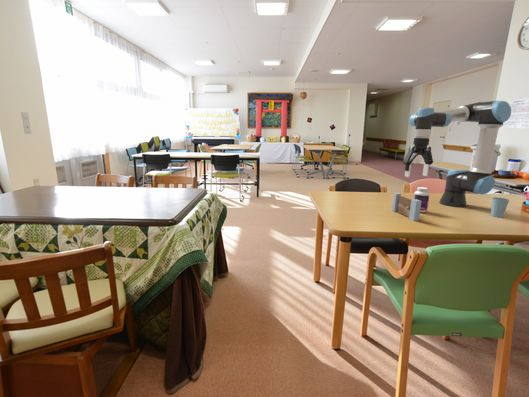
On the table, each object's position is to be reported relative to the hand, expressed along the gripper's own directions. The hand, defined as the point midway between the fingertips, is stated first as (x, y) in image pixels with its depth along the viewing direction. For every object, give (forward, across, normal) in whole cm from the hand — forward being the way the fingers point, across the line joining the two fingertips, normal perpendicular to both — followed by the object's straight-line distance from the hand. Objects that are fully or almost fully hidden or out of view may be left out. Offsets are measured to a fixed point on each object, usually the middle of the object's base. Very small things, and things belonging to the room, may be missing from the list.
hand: (416, 176), depth 164 cm
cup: (+22, -47, +19) cm, 55 cm away
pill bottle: (+23, -12, -4) cm, 26 cm away
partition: (+22, +4, 0) cm, 23 cm away
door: (+22, +5, -1) cm, 23 cm away
